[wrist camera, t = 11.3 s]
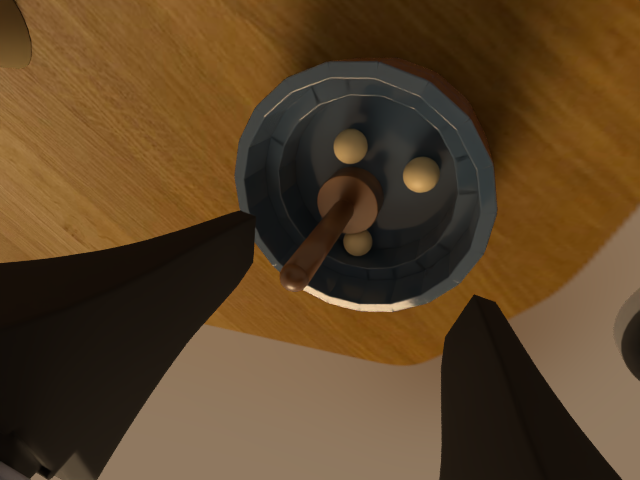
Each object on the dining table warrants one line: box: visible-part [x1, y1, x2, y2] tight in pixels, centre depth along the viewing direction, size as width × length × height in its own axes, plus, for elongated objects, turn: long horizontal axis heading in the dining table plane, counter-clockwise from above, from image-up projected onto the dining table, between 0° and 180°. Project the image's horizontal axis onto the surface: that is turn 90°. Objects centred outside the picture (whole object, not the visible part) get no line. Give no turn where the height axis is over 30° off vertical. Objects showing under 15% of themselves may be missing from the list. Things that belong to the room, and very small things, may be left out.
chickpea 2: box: [343, 230, 372, 256], centre depth 19 cm, size 2×2×2 cm
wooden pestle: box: [280, 167, 384, 292], centre depth 15 cm, size 4×4×9 cm
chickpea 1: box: [334, 129, 368, 164], centre depth 17 cm, size 2×2×2 cm
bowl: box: [235, 58, 497, 312], centre depth 17 cm, size 12×12×5 cm
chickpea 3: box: [403, 157, 440, 193], centre depth 16 cm, size 2×2×2 cm
